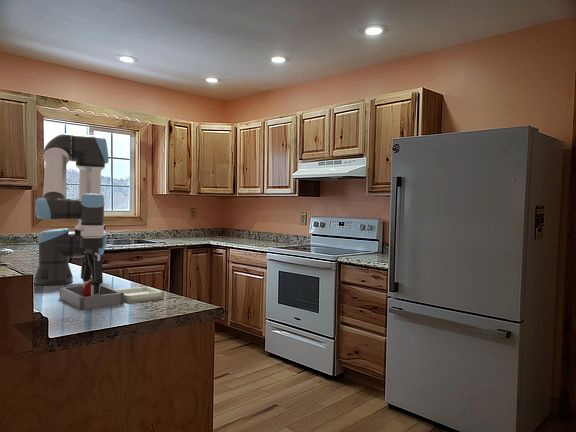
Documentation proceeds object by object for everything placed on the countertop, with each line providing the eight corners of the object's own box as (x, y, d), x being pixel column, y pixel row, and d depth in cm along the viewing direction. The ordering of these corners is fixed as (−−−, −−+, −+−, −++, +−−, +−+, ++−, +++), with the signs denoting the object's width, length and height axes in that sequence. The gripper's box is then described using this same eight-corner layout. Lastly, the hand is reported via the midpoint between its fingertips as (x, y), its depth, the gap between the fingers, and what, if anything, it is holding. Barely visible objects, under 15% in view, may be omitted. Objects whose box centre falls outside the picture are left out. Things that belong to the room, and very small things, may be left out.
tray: (111, 296, 169) (111, 289, 168) (146, 292, 178) (147, 286, 178) (127, 303, 158) (127, 296, 158) (163, 298, 168) (163, 291, 168)
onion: (102, 299, 162) (102, 278, 162) (96, 303, 157) (96, 280, 157) (86, 299, 162) (86, 277, 162) (79, 303, 156) (79, 280, 156)
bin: (59, 298, 163) (59, 287, 163) (99, 294, 173) (100, 283, 172) (80, 310, 146) (80, 298, 146) (123, 304, 156) (123, 293, 156)
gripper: (71, 235, 164) (70, 297, 164) (91, 239, 149) (90, 307, 149) (92, 235, 169) (91, 295, 169) (114, 238, 154) (112, 304, 155)
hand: (91, 300), depth 159 cm, fingers open, 7 cm apart
